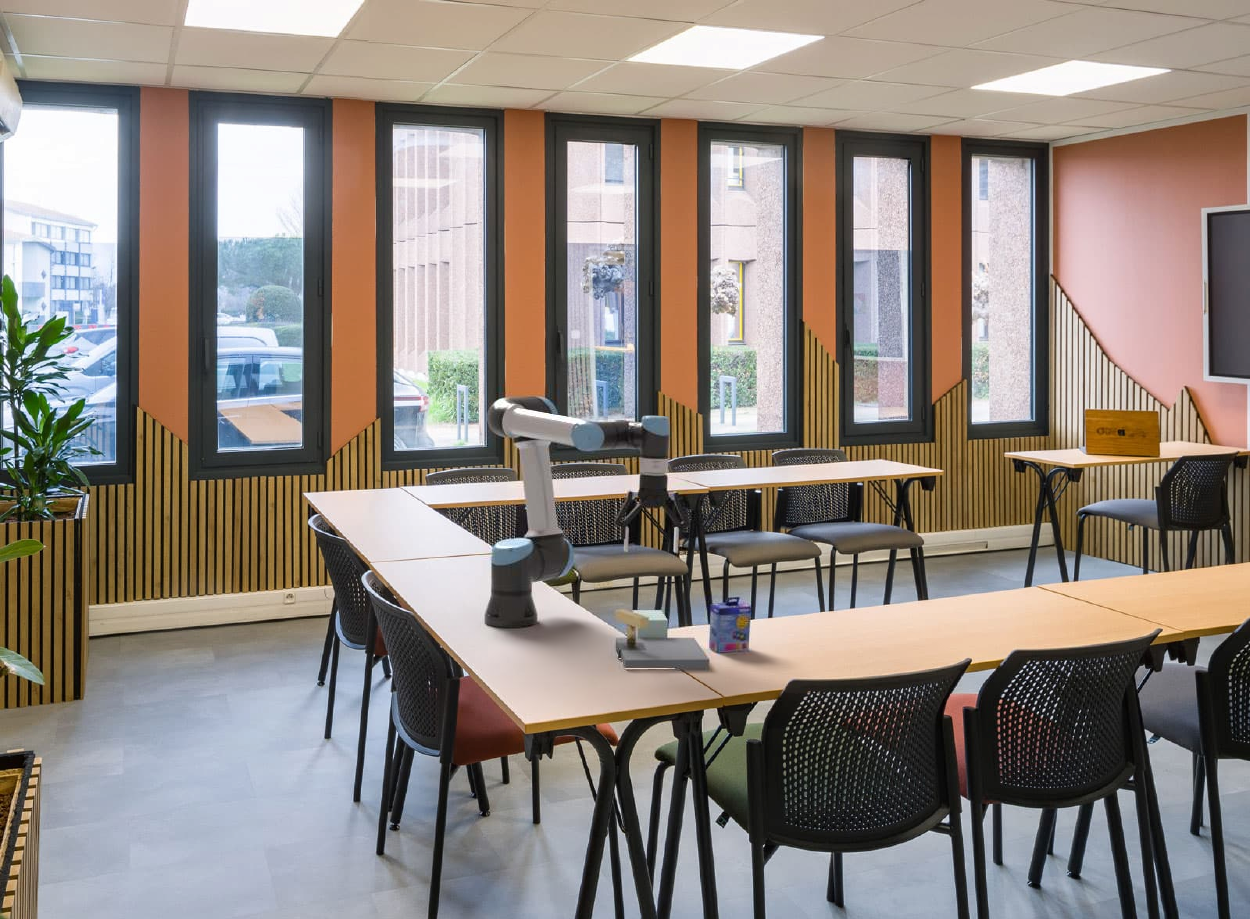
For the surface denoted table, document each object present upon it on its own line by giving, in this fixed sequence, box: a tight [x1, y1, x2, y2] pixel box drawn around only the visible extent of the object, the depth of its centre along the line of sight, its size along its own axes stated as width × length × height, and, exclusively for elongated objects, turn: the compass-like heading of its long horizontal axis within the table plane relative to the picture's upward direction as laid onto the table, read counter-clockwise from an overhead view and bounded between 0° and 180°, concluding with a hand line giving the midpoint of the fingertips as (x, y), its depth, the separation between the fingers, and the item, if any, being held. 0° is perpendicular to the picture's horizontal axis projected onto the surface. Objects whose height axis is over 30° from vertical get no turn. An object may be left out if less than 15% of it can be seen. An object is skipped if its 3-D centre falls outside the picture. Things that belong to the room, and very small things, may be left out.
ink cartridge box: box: [708, 596, 752, 654], centre depth 309 cm, size 10×6×14 cm, turn 113°
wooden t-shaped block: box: [614, 608, 649, 646], centre depth 299 cm, size 3×11×8 cm, turn 35°
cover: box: [631, 609, 669, 638], centre depth 316 cm, size 12×8×7 cm, turn 7°
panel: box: [615, 637, 710, 671], centre depth 299 cm, size 22×22×3 cm
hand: (650, 551), depth 315 cm, fingers open, 13 cm apart
